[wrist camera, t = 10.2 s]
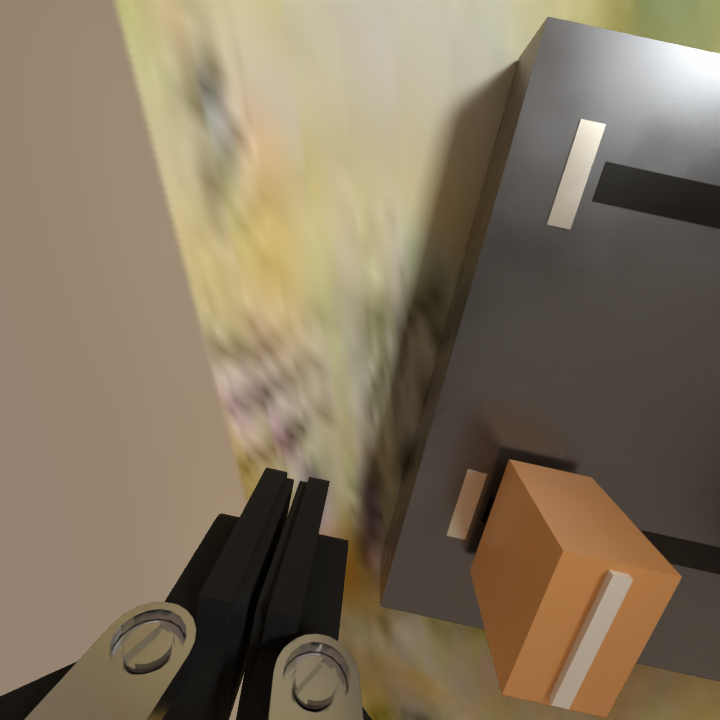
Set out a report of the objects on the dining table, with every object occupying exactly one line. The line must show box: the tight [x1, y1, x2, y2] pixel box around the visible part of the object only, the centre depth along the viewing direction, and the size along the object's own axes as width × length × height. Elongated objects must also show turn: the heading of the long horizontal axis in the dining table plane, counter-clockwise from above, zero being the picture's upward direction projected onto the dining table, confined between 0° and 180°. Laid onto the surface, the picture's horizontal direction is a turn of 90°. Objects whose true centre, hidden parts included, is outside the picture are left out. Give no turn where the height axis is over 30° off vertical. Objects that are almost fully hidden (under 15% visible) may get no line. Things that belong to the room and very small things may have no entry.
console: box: [380, 17, 720, 681], centre depth 12 cm, size 17×17×2 cm
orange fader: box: [470, 459, 682, 718], centre depth 10 cm, size 2×4×4 cm, turn 168°
